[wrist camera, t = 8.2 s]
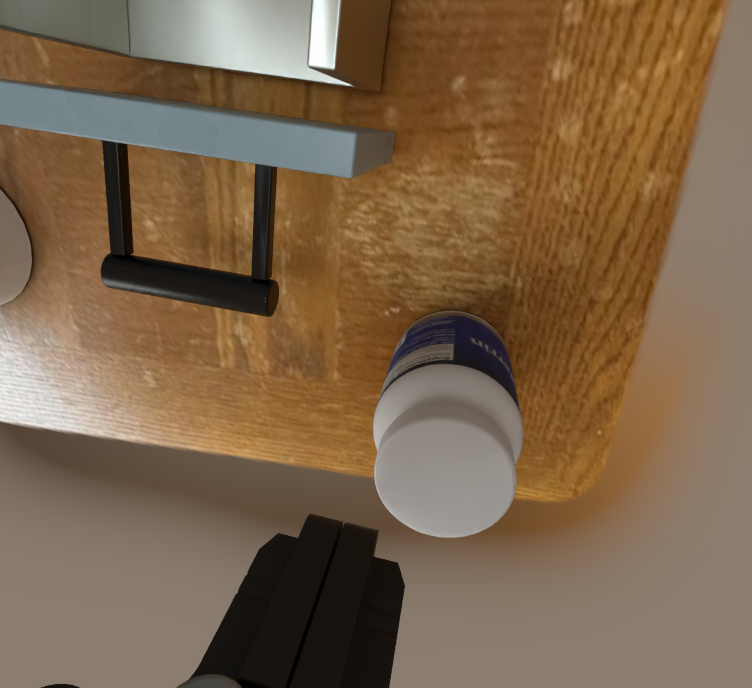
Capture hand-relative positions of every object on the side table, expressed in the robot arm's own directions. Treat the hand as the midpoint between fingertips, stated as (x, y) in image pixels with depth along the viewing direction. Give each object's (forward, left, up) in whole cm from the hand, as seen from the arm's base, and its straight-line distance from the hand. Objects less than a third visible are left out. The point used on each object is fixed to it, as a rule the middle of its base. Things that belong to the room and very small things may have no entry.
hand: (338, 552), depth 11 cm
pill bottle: (-2, +2, -16) cm, 16 cm away
